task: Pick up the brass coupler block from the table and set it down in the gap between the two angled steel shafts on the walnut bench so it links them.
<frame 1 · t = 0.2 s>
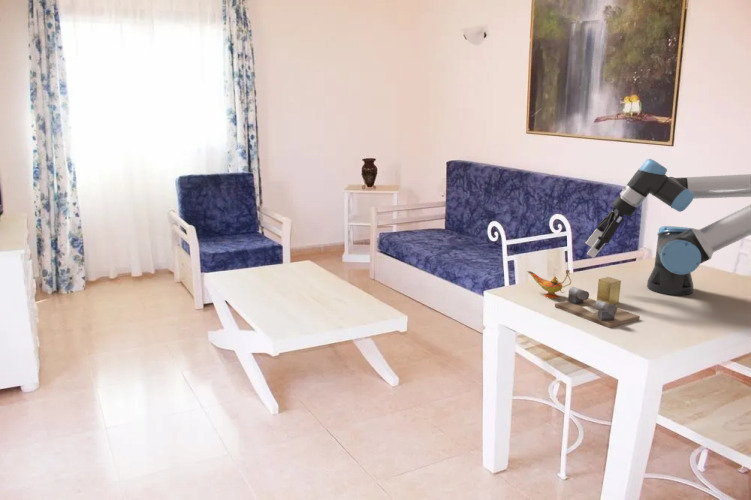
hand: (589, 250, 217), 15 cm above the table, tool tilted 30°, fingers open, 13 cm apart
shaft bench: (595, 313, 199), on the table
coupler: (607, 302, 210), on the table
magic lamp: (547, 295, 217), on the table
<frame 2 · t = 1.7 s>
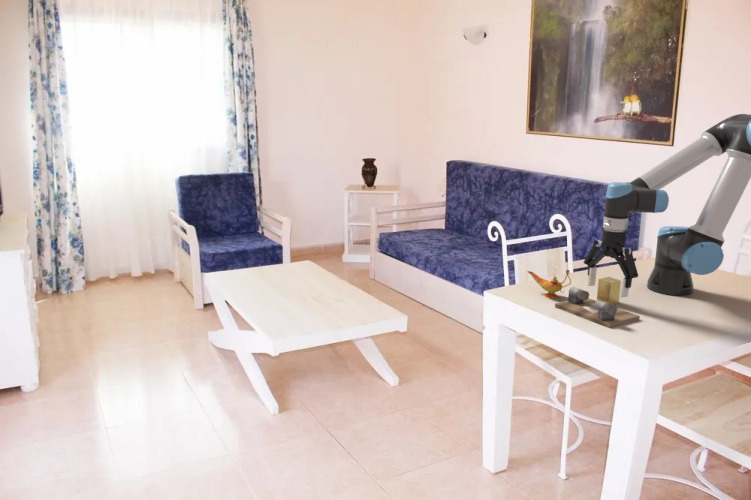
hand: (607, 291, 209), 4 cm above the table, tool pointing down, fingers open, 13 cm apart
nothing on the table moved.
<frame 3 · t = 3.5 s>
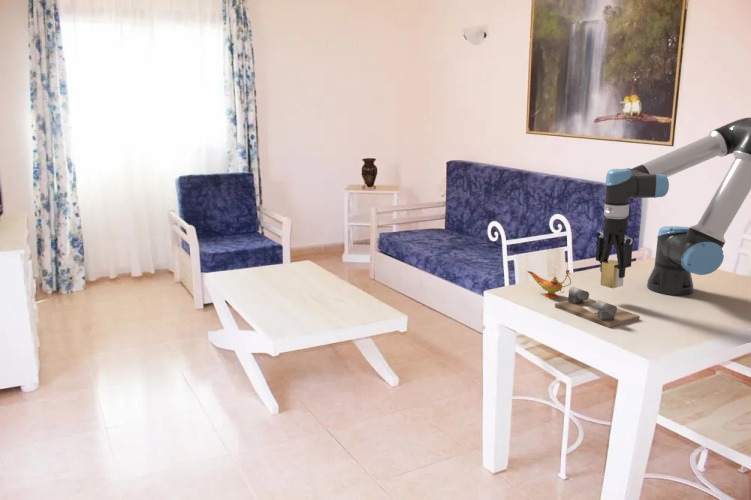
hand: (611, 284, 208), 6 cm above the table, tool pointing down, fingers closed on coupler, 5 cm apart
coupler: (611, 285, 208), point 6 cm above the table, touching gripper
everything else where it was.
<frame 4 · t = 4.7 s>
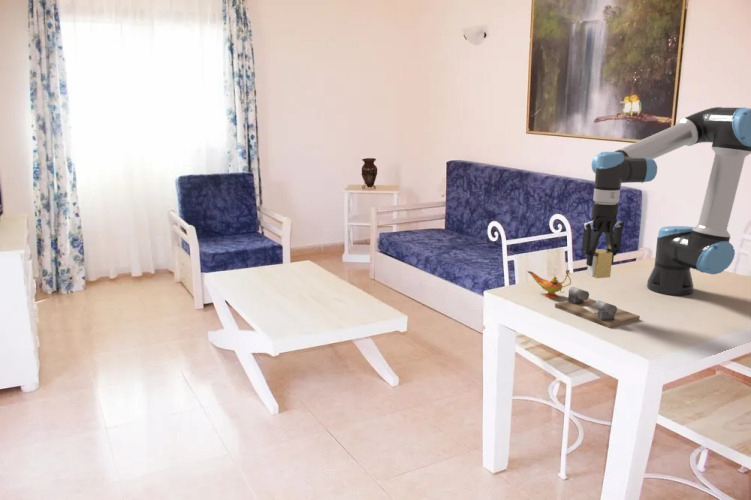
hand: (598, 274, 196), 13 cm above the table, tool pointing down, fingers closed on coupler, 5 cm apart
coupler: (598, 275, 196), point 13 cm above the table, touching gripper
everything else where it was.
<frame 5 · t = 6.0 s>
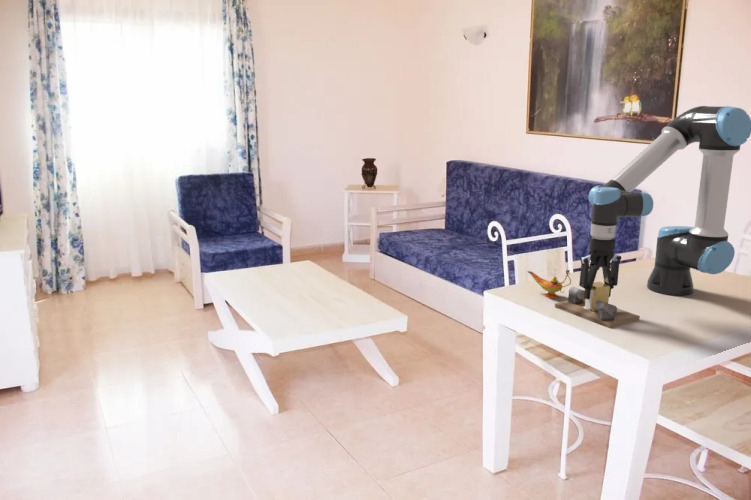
hand: (596, 307, 199), 2 cm above the table, tool pointing down, fingers closed on coupler, 5 cm apart
coupler: (596, 308, 199), point 2 cm above the table, touching gripper
everything else where it was.
when the fingers open (2 cm above the table, at t = 6.2 s): coupler stays where it is, resting on shaft bench.
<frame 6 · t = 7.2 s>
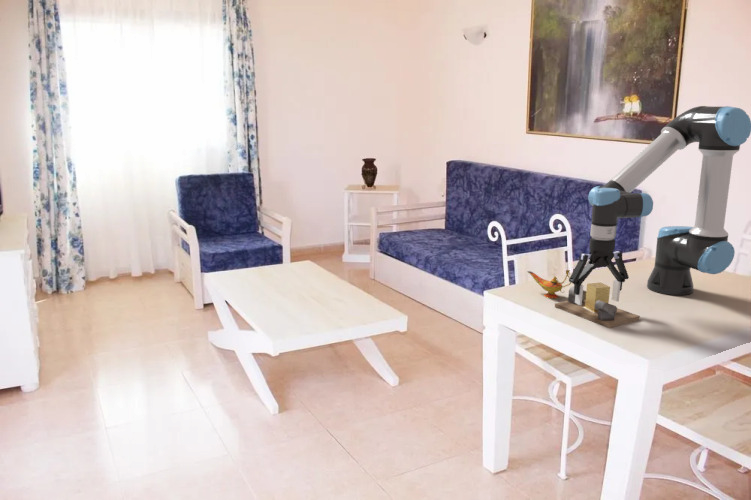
hand: (596, 302, 198), 4 cm above the table, tool pointing down, fingers open, 13 cm apart
coupler: (596, 308, 199), point 1 cm above the table, touching shaft bench
everything else where it was.
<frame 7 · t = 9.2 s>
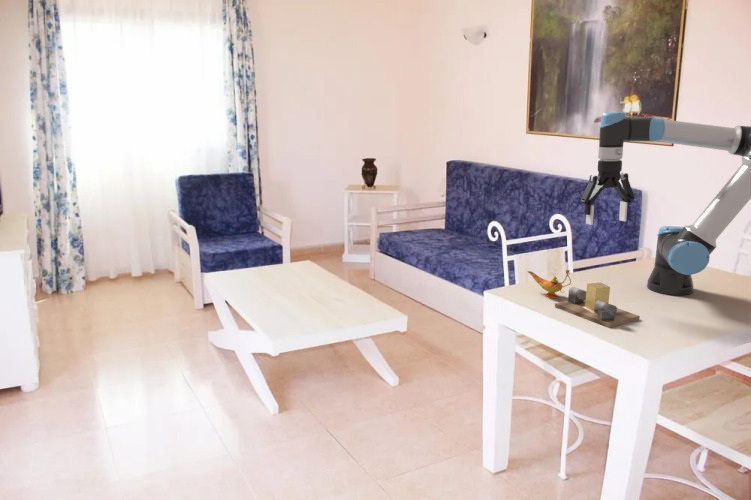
hand: (606, 222, 210), 26 cm above the table, tool pointing down, fingers open, 13 cm apart
nothing on the table moved.
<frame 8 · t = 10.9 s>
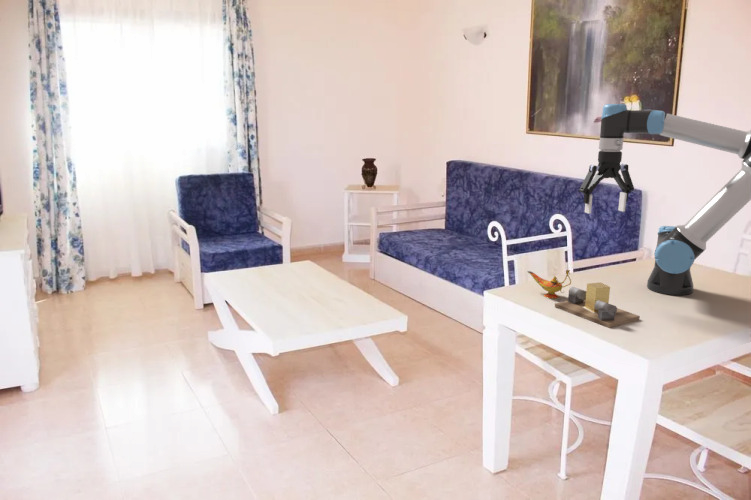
hand: (604, 212, 215), 29 cm above the table, tool pointing down, fingers open, 13 cm apart
nothing on the table moved.
at the end: coupler 0.0 cm off-centre on the shaft bench, point 1.4 cm above the shaft bench's base; coupler tilted 0°; the gripper is holding nothing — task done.
